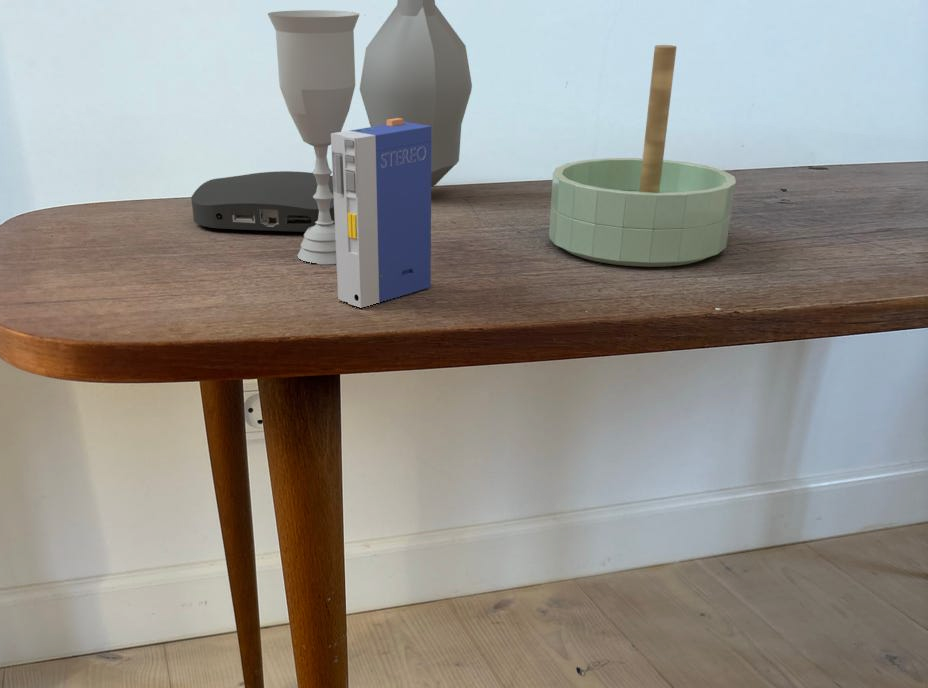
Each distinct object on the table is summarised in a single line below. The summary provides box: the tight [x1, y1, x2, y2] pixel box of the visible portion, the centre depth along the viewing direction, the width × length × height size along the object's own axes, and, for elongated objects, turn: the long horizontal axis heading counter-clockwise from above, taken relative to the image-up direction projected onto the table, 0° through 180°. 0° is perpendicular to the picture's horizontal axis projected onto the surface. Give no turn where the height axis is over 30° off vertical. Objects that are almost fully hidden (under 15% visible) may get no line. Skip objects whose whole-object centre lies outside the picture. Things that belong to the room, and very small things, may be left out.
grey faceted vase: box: [359, 0, 473, 188], centre depth 102 cm, size 11×11×30 cm
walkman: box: [330, 118, 432, 308], centre depth 78 cm, size 8×3×12 cm, turn 138°
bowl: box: [548, 157, 737, 268], centre depth 93 cm, size 16×16×6 cm
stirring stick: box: [639, 44, 677, 193], centre depth 92 cm, size 4×4×15 cm
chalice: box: [267, 9, 360, 265], centre depth 85 cm, size 7×7×18 cm
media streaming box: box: [190, 170, 335, 233], centre depth 101 cm, size 15×15×3 cm
